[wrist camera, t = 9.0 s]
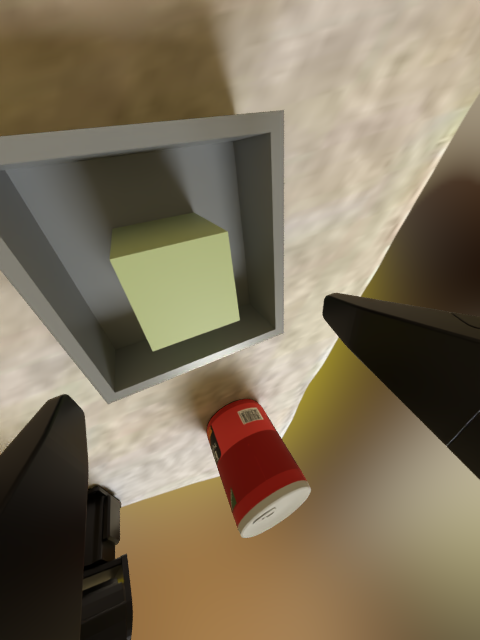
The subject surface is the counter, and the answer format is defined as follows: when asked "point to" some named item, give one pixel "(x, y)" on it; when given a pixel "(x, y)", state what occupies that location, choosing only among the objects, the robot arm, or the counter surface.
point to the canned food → (255, 467)
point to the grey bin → (133, 208)
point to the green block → (176, 276)
